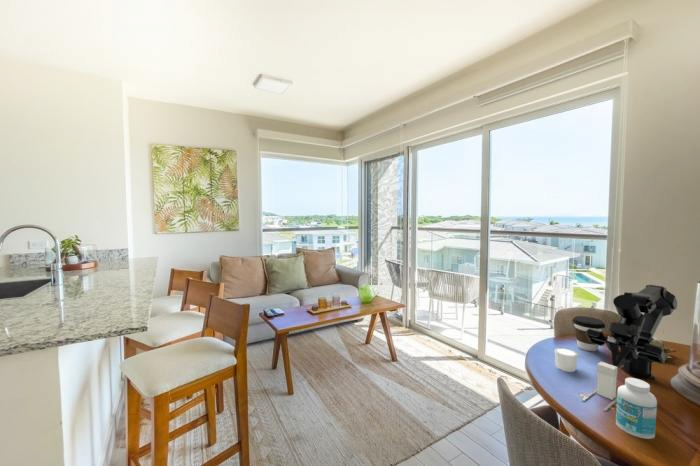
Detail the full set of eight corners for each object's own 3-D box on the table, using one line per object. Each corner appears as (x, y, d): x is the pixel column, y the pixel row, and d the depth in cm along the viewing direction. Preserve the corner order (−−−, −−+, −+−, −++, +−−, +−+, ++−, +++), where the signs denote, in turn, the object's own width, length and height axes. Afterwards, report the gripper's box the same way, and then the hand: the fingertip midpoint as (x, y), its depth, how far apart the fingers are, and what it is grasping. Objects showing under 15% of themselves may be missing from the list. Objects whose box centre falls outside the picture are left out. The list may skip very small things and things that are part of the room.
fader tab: (600, 390, 95) (601, 361, 94) (616, 397, 91) (617, 367, 91) (596, 393, 93) (597, 363, 93) (612, 400, 90) (613, 369, 89)
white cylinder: (581, 376, 105) (582, 357, 104) (559, 374, 106) (560, 355, 106) (571, 366, 112) (571, 348, 111) (550, 365, 113) (551, 346, 113)
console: (595, 386, 99) (595, 382, 99) (631, 401, 91) (631, 396, 91) (575, 401, 91) (575, 396, 91) (612, 418, 84) (613, 413, 84)
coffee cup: (606, 356, 119) (608, 326, 118) (572, 350, 125) (573, 321, 124) (601, 345, 128) (603, 318, 127) (570, 340, 134) (571, 314, 133)
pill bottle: (608, 422, 82) (610, 374, 81) (634, 422, 82) (637, 374, 81) (634, 443, 75) (637, 391, 74) (663, 442, 75) (666, 390, 74)
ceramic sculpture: (627, 323, 129) (678, 336, 118) (624, 343, 130) (675, 357, 119) (622, 330, 123) (676, 344, 111) (619, 350, 124) (673, 366, 112)
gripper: (588, 305, 105) (572, 343, 99) (664, 321, 89) (650, 368, 84) (597, 323, 109) (582, 360, 104) (671, 341, 93) (657, 386, 88)
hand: (614, 367), depth 95 cm, fingers closed
